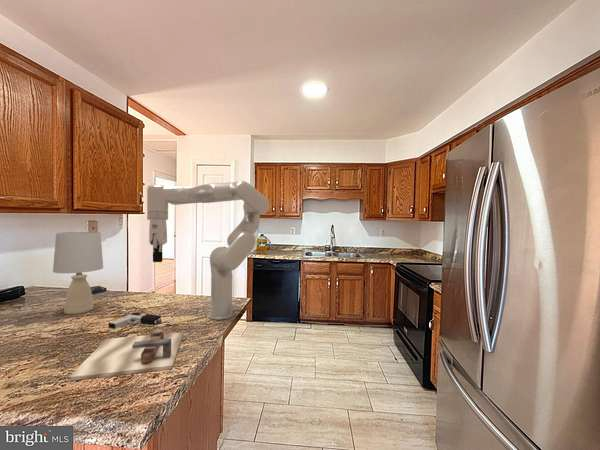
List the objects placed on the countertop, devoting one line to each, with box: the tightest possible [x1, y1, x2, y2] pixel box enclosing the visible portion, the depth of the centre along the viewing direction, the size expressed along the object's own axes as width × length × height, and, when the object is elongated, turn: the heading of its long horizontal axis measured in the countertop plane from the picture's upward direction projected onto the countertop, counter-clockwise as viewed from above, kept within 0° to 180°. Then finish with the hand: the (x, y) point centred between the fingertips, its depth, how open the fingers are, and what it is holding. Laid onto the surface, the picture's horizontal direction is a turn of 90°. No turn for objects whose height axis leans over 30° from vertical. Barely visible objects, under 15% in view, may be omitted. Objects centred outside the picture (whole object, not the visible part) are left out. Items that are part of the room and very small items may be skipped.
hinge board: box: [68, 328, 184, 382], centre depth 92 cm, size 26×25×6 cm
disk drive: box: [90, 285, 107, 295], centre depth 163 cm, size 10×3×15 cm
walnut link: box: [141, 330, 165, 363], centre depth 93 cm, size 19×4×2 cm, turn 16°
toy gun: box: [108, 312, 162, 330], centre depth 117 cm, size 3×16×12 cm
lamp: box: [52, 231, 104, 315], centre depth 132 cm, size 19×19×37 cm
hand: (157, 261), depth 112 cm, fingers closed
